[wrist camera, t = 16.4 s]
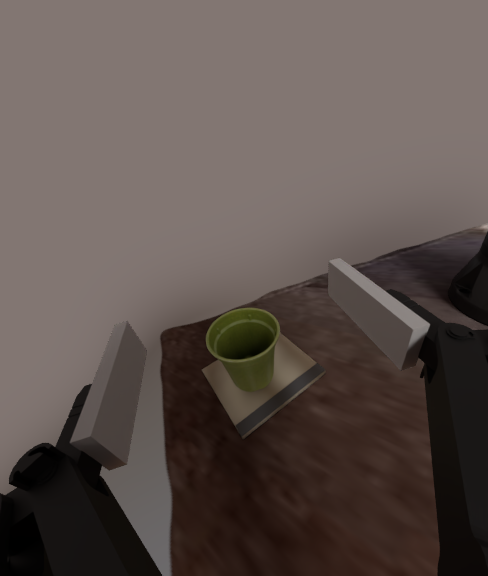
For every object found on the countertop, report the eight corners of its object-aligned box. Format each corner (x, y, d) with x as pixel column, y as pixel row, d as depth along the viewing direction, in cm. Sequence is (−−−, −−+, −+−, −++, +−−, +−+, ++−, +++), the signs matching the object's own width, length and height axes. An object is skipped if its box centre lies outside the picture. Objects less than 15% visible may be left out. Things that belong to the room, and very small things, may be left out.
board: (272, 329, 42) (271, 325, 41) (325, 373, 32) (325, 369, 32) (203, 372, 36) (201, 369, 36) (243, 439, 27) (241, 436, 27)
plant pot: (241, 341, 39) (230, 302, 35) (294, 357, 35) (290, 314, 30) (209, 388, 33) (190, 348, 28) (269, 416, 28) (258, 373, 24)
